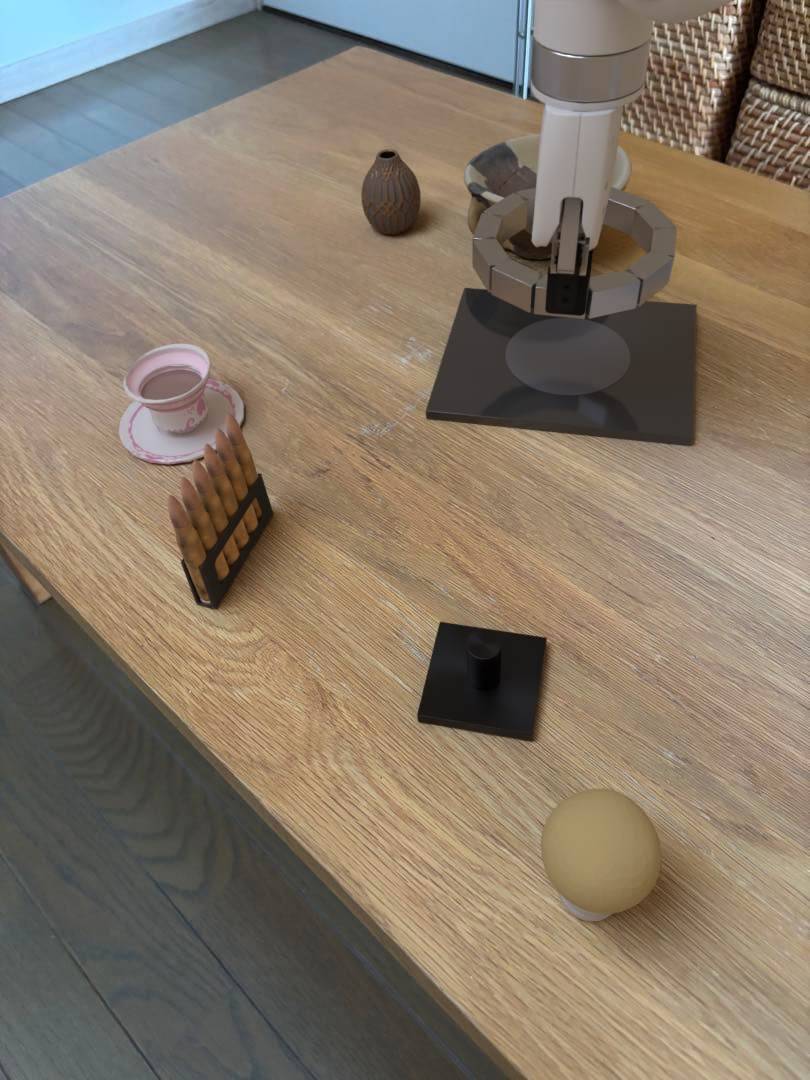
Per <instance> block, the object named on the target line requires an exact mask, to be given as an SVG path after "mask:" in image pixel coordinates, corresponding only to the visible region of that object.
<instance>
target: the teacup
mask: <svg viewBox="0 0 810 1080" xmlns="http://www.w3.org/2000/svg"><path fill="white" fill-rule="evenodd" d="M210 376H211V361H210V357H209V355H208V353H206V352H205V350H203V349H202V348H201V347H199V346H198V345H195V344H192V343H191V344H190V343H170V344H166V345H162V346H159V347H155V348H153V349H152V350H151V349H150V350H149V351H147V352H146V353H144V354H142V355H141V356H140V357H138V358H137V359H136V360H135V361H134V362H133V363H132V364H130V366H129V367H128V368H127V370H126V372H125V374H124V376H123V379H122V387H123V388H122V389H123V390H124V393H125V394H126V395H127V396H128V397H129V398H130V399H132V400H133V401H132V403H130V405H128V406H127V408H126V409H125V411H124V413H123V415H122V417H121V418H120V421H119V427H118V435H119V437H120V440H121V443H122V445H123V448H125V449H126V450H127V451H128V452H129V453H130V454H131V455H132V456H133V457H135V458H137V459H140V460H142V461H145V462H147V463H151V464H160V465H161V464H162V465H174V464H175V465H177V464H183V463H191V462H193V461H194V460H198V459H201V458H204V447H205V444H209V445H210V446H211V447H212V448H213V449H214V450H215V452H217V450H216V444H215V432H216V429H217V428H220V429H221V430H222V431H223V432H224V433H225V435H226V436H227V431H226V416H227V413H231V414H232V415H233V416H234V417H235V419H236V420H237V422H238V424H239V426H240V427H241V426H242V423H244V422H243V421H244V419H245V404H244V401H243V400H242V398H241V396H240V394H239V392H238V391H236V390H235V389H234V388H232V387H231V386H230V385H228V384H227V383H225V382H222V381H219V380H216V379H214V378H210ZM227 438H228V436H227Z"/></svg>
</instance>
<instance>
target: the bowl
mask: <svg viewBox="0 0 810 1080" xmlns="http://www.w3.org/2000/svg"><path fill="white" fill-rule="evenodd" d="M539 143H540V133H533V134H528V135H524V136H520V137H514V138H511V139H507V140H504V141H502V142H500V143H497V144H494V145H492V146H490V147H488V148H487V149H485V150H483V151H481V152H479V153H478V154H477V155H476V156H474V157H472V158H471V160H470V161H469V162H467V164H466V167H465V169H464V173H463V182H464V185H465V187H466V189H467V190H468V194H470V196H471V198H470V203H469V206H468V210H467V214H466V215H467V218H466V219H467V227H468V229H469V231H470V233H471V234H472V235H473V236H474V233H475V230H476V228H477V225H478V222H479V219H480V216H481V214H482V213H483V211H485V210H486V209H488V208H490V207H491V206H493V205H494V204H496V203H498V202H499V201H501V200H502V199H504V198H505V197H507V196H509V195H510V194H512V193H515V194H516V192H517V191H522V190H527V189H532V188H536V181H537V168H538V155H539ZM632 172H633V166H632V161H631V158H630V156H629V154H628V153H627V152H626V150H625V149H624V148H622V147H621V145H620V144H618V148H617V155H616V161H615V167H614V173H613V178H612V183H611V187H614V188H616V189H619V190H622V191H624V192H625V190H626V189H627V185H628V184H629V181H630V179H631V176H632ZM610 229H612V228H611V227H609V226H606V225H604V224H602V228H601V232H600V236H601V235H603V234H604V233H606V232H607V231H608V230H610ZM532 231H533V226H529V227H526V228H524V229H523V230H521V231H519V232H518V233H516V234H515V235H513V236H512V237H510V238H509V239H507V240H506V241H504V242H503V243H502V244H501V246H502V248H503V249H507V250H510V251H511V252H513V253H514V254H516V255H517V256H519V257H521V258H525V259H530V260H546V259H551V253H552V238H553V236H552V238H551V240H550V242H549V243H548V245H547V247H545V246H539V247H536V246H534V244H533V243H532Z"/></svg>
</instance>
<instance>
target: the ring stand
mask: <svg viewBox="0 0 810 1080" xmlns="http://www.w3.org/2000/svg"><path fill="white" fill-rule="evenodd" d="M547 641H548V638H547V637H545V636H539V635H531V634H526V633H519V632H511V631H506V630H499V629H492V628H484V627H478V626H471V625H464V624H459V623H451V622H445V621H439V623H438V628H437V631H436V636H435V640H434V644H433V648H432V651H431V656H430V659H429V660H430V661H429V665H428V669H427V673H426V676H425V681H424V685H423V690H422V693H421V697H420V702H419V704H418V705H419V706H418V710H417V714H416V716H417V722H418V723H422V724H427V725H433V726H434V725H435V726H440V727H447V728H452V729H458V730H462V731H463V730H464V731H469V732H476V733H481V734H487V735H492V736H498V737H503V738H510V739H515V740H519V741H520V740H521V741H526V742H533V737H534V730H535V724H536V717H537V709H538V702H539V697H540V690H541V684H542V683H541V682H542V677H543V676H542V675H543V669H544V662H545V655H546V649H547Z"/></svg>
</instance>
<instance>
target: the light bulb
mask: <svg viewBox="0 0 810 1080" xmlns="http://www.w3.org/2000/svg"><path fill="white" fill-rule="evenodd" d="M540 851H541V852H540V853H541V861H542V864H543V868H544V871H545V873H546V875H547V877H548V879H549V881H550V883H551V885H552V886H553V887H554V888H555V889H556V891H557V892H558V896H559V898H560V901H561V903H562V904H563V906H564V907H565V908H566V910H567V911H568V912H569V913H570V914H571V915H573V916H574V917H577V918H578V919H580V920H583V921H587V922H598V921H599V922H600V921H603V920H605V919H608V918H609V917H610V916H612V915H614V914H618V913H622V912H624V911H627V910H629V909H632V908H634V907H635V906H636V905H638V904H640V903H641V902H642V901H643V900H644V899H645V898H646V897H647V896H648V895H650V892H651V891H652V889H653V888H654V886H655V885H656V883H657V880H658V878H659V877H660V871H661V868H662V859H663V858H662V857H663V855H662V854H663V852H662V845H661V841H660V838H659V833H658V831H657V829H656V827H655V825H654V823H653V822H652V820H651V818H650V817H649V815H647V813H646V812H645V811H644V810H643V808H641V806H640V805H639V804H638V803H637V802H635V800H633V799H632V798H630V797H629V796H627V795H625V794H624V793H623V792H619V791H617V790H614V789H610V788H602V787H601V788H590V789H584V790H581V791H578V792H575V793H573V794H571V795H569V796H567V797H566V798H564V799H563V800H562V801H561V802H559V803H558V804H557V805H556V806H555V807H554V808H553V809H552V811H551V812H550V813H549V815H548V817H547V818H546V820H545V823H544V825H543V829H542V832H541V838H540Z"/></svg>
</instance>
